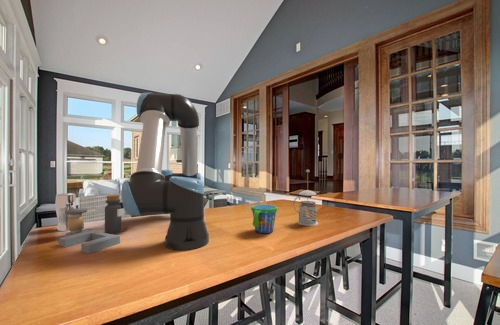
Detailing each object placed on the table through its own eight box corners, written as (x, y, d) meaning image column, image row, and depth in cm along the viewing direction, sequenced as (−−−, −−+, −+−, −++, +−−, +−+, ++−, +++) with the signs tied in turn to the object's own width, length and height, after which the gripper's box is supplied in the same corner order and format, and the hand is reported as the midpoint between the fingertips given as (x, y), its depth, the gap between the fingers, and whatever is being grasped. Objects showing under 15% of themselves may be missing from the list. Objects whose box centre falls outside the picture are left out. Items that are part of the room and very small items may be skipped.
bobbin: (91, 234, 93) (90, 209, 93) (71, 239, 87) (71, 212, 87) (80, 231, 96) (80, 207, 96) (60, 236, 90) (60, 210, 90)
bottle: (113, 234, 92) (113, 196, 92) (101, 233, 93) (101, 196, 93) (124, 230, 98) (124, 194, 98) (112, 229, 99) (112, 194, 99)
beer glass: (51, 230, 98) (51, 195, 98) (69, 226, 104) (69, 192, 104) (62, 232, 95) (61, 195, 95) (79, 228, 101) (79, 193, 101)
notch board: (119, 242, 83) (119, 235, 83) (88, 253, 73) (88, 245, 73) (90, 236, 90) (90, 230, 90) (58, 245, 80) (58, 238, 80)
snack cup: (263, 224, 106) (263, 202, 106) (284, 228, 100) (284, 205, 100) (242, 233, 93) (242, 208, 93) (264, 238, 87) (264, 211, 87)
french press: (321, 225, 104) (321, 170, 104) (295, 225, 104) (295, 170, 104) (315, 220, 114) (315, 169, 114) (291, 220, 114) (291, 169, 114)
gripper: (169, 212, 107) (127, 224, 88) (132, 208, 118) (87, 217, 99) (169, 196, 107) (127, 204, 88) (132, 193, 118) (87, 199, 99)
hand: (106, 211), depth 93 cm, fingers open, 13 cm apart
